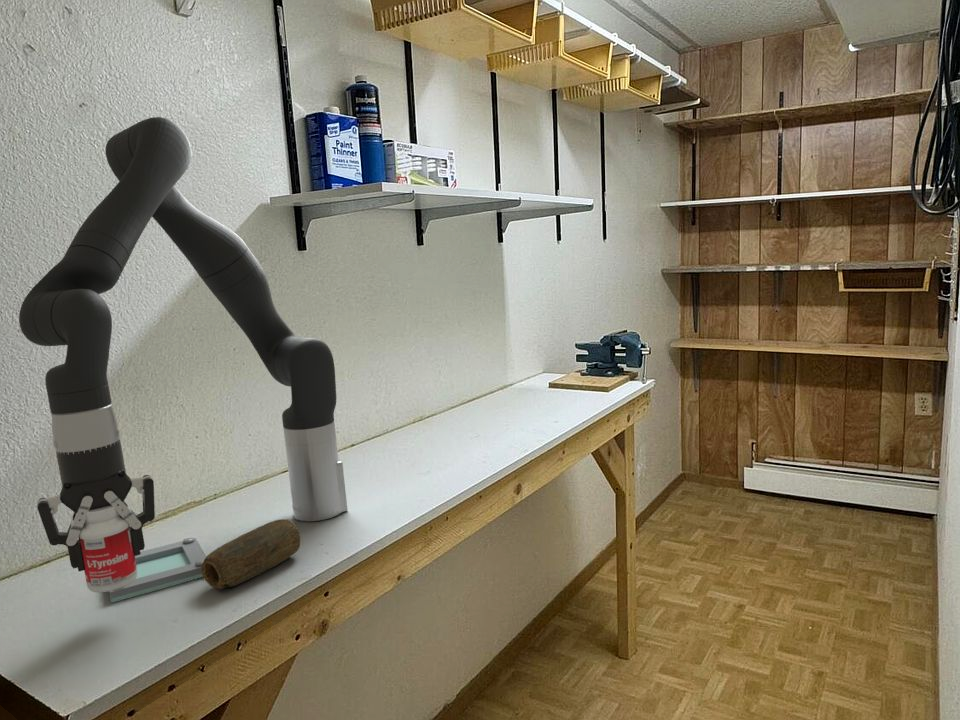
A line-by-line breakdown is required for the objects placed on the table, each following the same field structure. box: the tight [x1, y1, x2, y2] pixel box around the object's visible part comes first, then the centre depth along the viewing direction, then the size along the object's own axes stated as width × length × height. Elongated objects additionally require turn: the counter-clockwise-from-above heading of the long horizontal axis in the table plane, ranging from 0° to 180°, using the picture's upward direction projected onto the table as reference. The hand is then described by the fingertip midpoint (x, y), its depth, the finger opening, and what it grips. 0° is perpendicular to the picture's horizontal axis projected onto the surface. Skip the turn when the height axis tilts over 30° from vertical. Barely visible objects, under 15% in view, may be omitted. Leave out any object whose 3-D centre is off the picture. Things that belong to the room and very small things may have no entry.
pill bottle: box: [78, 506, 137, 593], centre depth 95 cm, size 6×6×11 cm
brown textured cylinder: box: [201, 518, 301, 590], centre depth 108 cm, size 15×7×7 cm, turn 150°
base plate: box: [108, 537, 208, 603], centre depth 111 cm, size 14×14×2 cm
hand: (109, 560), depth 95 cm, fingers closed on pill bottle, 6 cm apart
